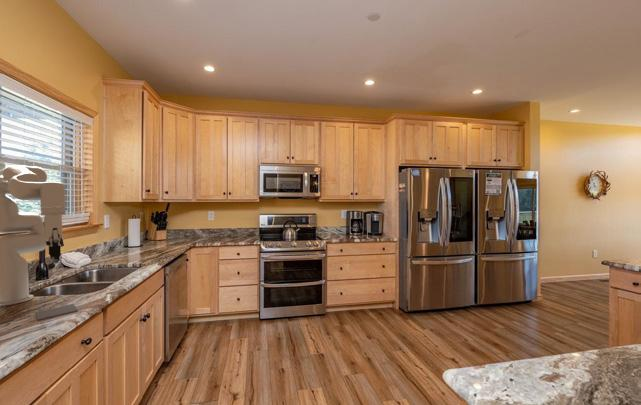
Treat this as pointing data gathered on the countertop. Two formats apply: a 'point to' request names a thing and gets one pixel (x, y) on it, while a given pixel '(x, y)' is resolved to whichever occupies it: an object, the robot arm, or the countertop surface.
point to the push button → (54, 258)
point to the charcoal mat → (55, 312)
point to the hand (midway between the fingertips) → (54, 254)
